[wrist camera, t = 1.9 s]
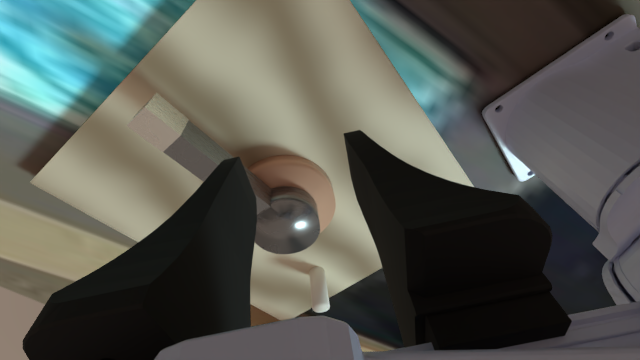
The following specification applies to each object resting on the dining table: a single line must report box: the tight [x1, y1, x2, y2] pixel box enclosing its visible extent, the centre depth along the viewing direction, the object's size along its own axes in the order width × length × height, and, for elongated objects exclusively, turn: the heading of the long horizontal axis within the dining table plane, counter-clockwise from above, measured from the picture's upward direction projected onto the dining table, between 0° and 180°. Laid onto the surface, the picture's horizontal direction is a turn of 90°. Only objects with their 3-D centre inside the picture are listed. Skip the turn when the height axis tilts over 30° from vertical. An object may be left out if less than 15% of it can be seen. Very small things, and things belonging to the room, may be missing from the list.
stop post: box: [309, 267, 330, 313], centre depth 28 cm, size 1×1×4 cm
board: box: [30, 0, 474, 321], centre depth 24 cm, size 22×24×1 cm
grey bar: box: [127, 93, 320, 254], centre depth 20 cm, size 13×4×2 cm, turn 39°
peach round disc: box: [247, 155, 336, 233], centre depth 23 cm, size 7×7×1 cm
